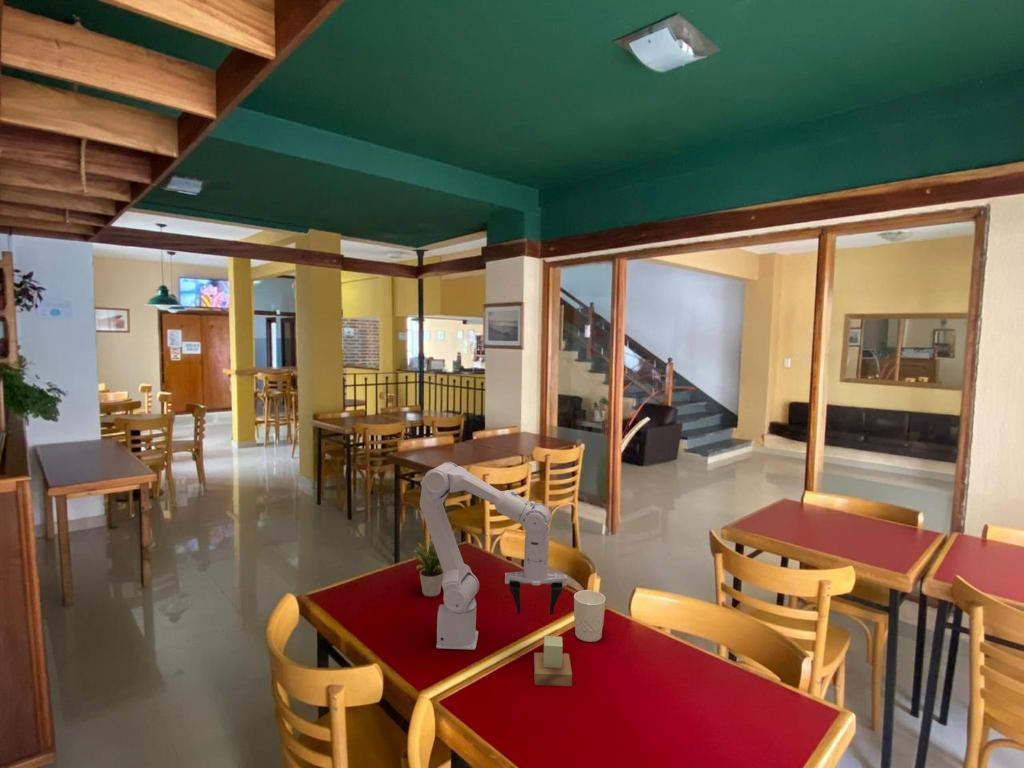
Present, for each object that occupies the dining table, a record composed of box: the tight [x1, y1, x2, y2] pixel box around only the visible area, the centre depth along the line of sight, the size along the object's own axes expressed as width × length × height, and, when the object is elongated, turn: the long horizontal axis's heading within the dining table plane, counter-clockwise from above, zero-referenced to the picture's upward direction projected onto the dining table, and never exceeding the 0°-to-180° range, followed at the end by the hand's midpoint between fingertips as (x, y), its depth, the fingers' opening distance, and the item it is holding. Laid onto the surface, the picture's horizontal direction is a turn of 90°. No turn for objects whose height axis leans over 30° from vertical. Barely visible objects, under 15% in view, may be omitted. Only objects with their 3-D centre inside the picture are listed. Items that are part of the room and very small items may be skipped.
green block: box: [543, 635, 564, 669], centre depth 119 cm, size 4×4×5 cm
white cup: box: [573, 589, 606, 643], centre depth 135 cm, size 8×8×10 cm
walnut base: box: [533, 652, 573, 687], centre depth 119 cm, size 8×8×3 cm
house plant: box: [412, 537, 444, 597], centre depth 155 cm, size 14×14×16 cm
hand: (534, 612), depth 126 cm, fingers open, 7 cm apart
